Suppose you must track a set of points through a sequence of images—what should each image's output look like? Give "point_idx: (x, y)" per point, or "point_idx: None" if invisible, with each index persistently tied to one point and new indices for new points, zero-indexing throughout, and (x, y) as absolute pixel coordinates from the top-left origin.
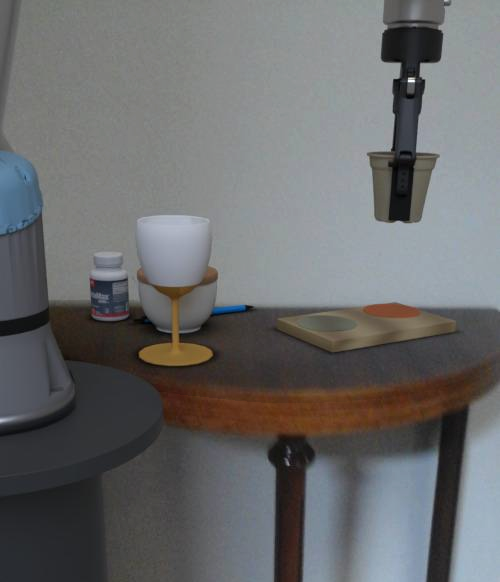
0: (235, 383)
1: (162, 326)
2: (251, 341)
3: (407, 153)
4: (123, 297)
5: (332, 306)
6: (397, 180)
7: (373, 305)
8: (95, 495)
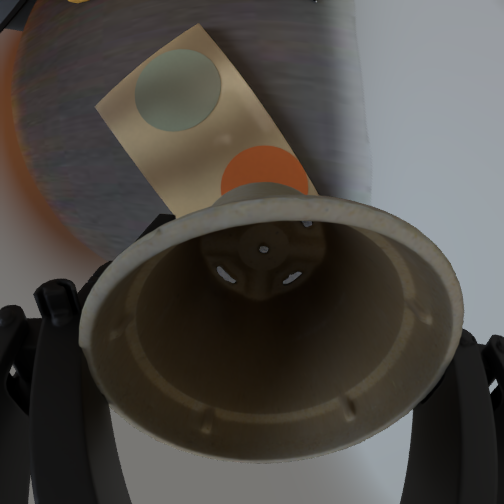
0: (27, 50)
1: None
2: (143, 12)
3: (13, 365)
4: None
5: (351, 112)
6: (85, 285)
7: (295, 165)
8: (9, 25)
